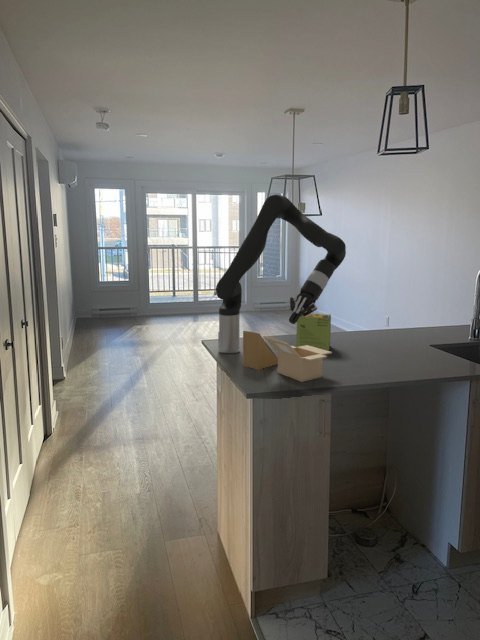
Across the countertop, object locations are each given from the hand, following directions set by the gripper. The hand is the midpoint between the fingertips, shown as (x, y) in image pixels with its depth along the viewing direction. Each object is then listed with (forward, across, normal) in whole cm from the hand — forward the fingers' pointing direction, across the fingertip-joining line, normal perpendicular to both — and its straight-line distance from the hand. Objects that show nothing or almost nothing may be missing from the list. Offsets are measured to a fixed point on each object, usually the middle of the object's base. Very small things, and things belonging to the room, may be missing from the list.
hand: (291, 322), depth 183 cm
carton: (+13, +5, +16) cm, 21 cm away
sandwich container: (+17, -15, +16) cm, 27 cm away
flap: (+10, +3, 0) cm, 10 cm away
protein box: (-6, -21, +45) cm, 50 cm away
